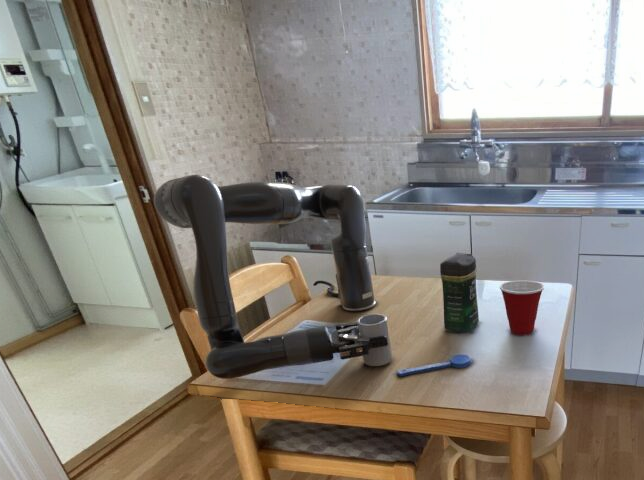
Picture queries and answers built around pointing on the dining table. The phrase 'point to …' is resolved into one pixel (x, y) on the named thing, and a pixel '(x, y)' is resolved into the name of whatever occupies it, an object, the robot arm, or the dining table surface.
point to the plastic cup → (521, 304)
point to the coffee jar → (459, 293)
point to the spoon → (439, 365)
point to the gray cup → (374, 328)
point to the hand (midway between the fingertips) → (384, 334)
